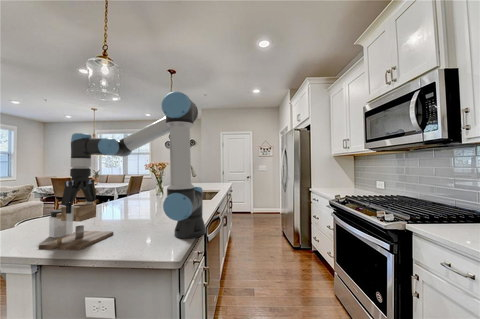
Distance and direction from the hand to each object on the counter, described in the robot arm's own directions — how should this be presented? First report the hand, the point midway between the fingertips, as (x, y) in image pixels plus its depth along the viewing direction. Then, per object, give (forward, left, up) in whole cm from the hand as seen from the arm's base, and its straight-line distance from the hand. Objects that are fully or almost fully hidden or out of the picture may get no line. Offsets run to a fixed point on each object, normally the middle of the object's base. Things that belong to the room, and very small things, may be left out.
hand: (79, 218), depth 100 cm
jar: (+16, -7, -10) cm, 20 cm away
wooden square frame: (+3, 0, 0) cm, 3 cm away
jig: (0, 0, -10) cm, 10 cm away
